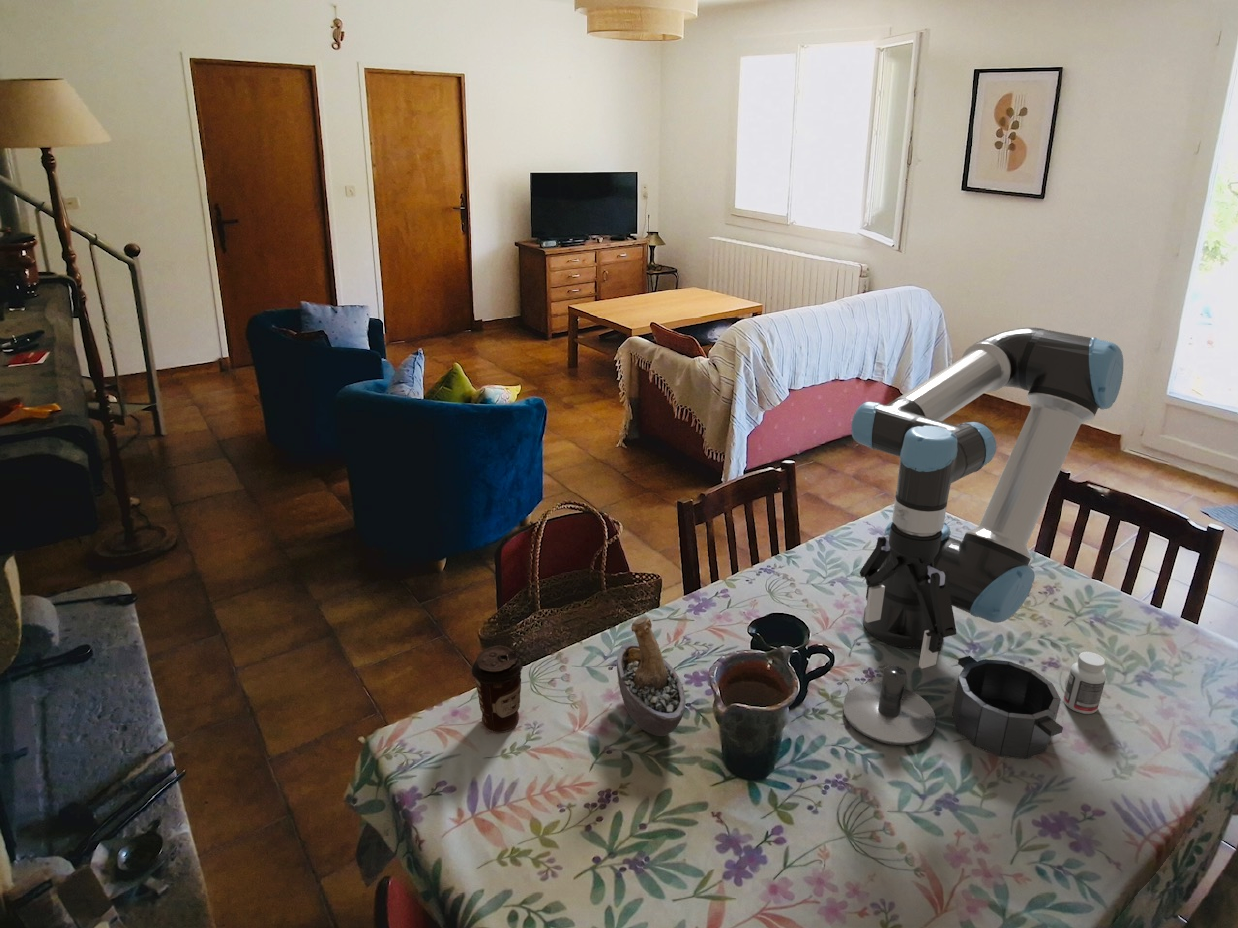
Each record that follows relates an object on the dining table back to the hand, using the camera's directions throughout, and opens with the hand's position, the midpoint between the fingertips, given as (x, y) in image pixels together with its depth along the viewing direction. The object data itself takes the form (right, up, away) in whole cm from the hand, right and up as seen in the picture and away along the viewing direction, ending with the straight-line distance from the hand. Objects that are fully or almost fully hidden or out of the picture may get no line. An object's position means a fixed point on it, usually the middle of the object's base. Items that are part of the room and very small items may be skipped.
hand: (898, 641), depth 138 cm
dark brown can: (-66, -15, +6) cm, 68 cm away
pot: (+19, -15, +4) cm, 24 cm away
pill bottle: (+35, -13, +9) cm, 38 cm away
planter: (-41, -15, +7) cm, 44 cm away
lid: (0, -14, +6) cm, 16 cm away
